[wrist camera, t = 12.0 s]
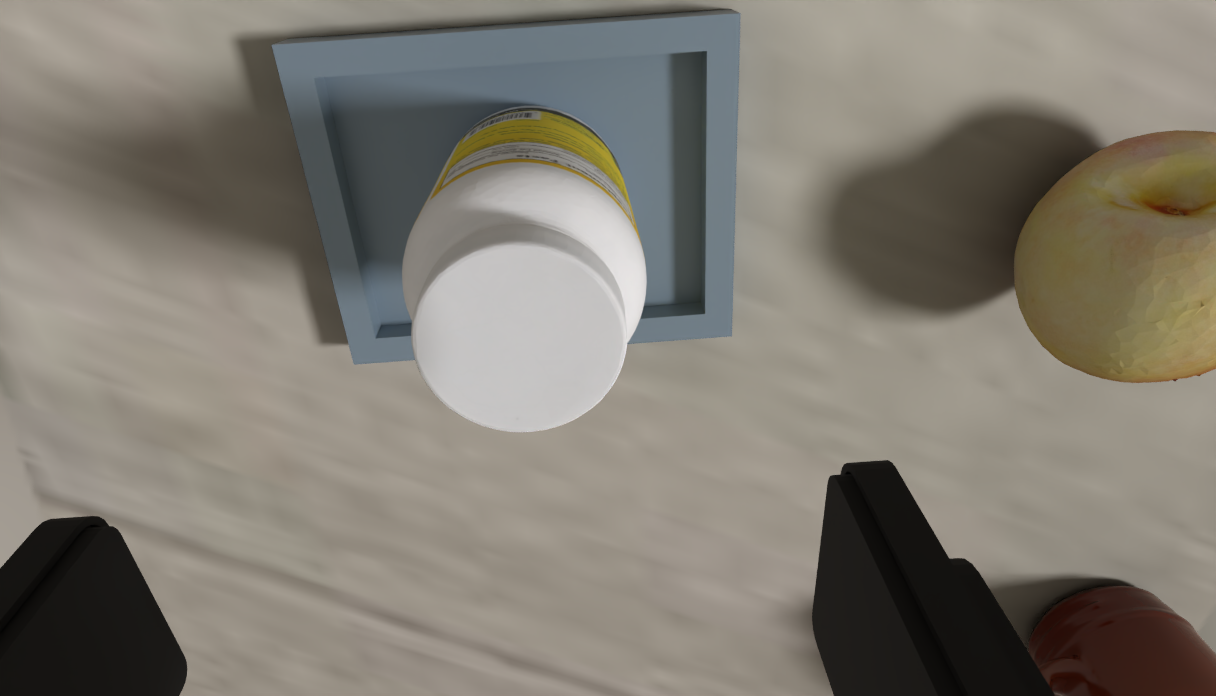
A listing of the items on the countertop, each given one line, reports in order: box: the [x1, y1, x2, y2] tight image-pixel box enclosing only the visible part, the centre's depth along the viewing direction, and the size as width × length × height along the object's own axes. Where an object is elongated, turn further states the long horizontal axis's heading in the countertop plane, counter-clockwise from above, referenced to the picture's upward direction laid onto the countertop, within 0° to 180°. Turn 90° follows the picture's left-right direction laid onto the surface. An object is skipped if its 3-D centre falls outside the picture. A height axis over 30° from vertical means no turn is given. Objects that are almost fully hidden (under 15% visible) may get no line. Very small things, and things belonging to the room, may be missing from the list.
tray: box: [272, 9, 740, 364], centre depth 26 cm, size 11×14×2 cm
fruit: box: [1014, 131, 1216, 383], centre depth 24 cm, size 8×8×8 cm
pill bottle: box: [402, 106, 647, 432], centre depth 21 cm, size 6×6×11 cm
